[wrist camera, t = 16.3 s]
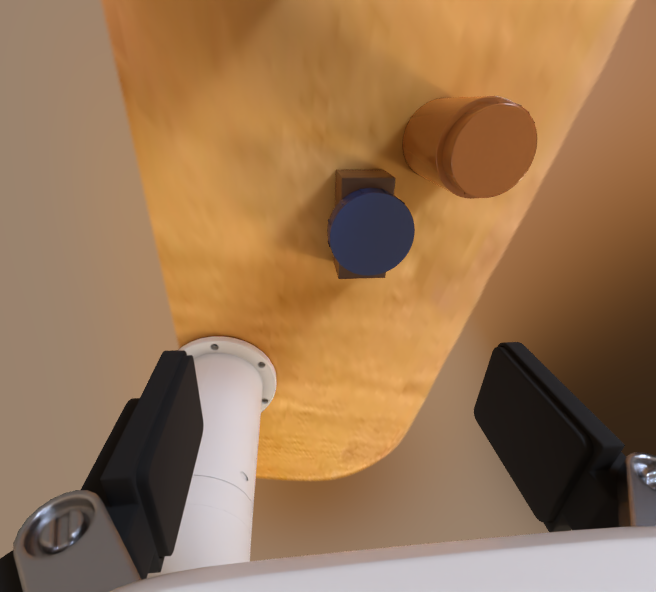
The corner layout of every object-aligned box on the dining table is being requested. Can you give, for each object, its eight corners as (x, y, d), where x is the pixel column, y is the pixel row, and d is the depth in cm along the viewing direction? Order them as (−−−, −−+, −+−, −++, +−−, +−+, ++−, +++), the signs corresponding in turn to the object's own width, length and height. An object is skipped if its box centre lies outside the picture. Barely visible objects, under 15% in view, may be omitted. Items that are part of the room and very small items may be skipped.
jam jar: (466, 178, 34) (527, 203, 25) (398, 178, 33) (437, 204, 24) (482, 98, 30) (557, 96, 22) (407, 97, 30) (455, 94, 21)
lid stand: (375, 261, 37) (385, 277, 33) (333, 262, 36) (338, 279, 33) (383, 169, 32) (395, 177, 29) (335, 169, 32) (342, 177, 28)
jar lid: (327, 187, 29) (330, 193, 27) (412, 187, 29) (420, 192, 28) (326, 268, 32) (329, 277, 30) (402, 265, 33) (409, 274, 31)
